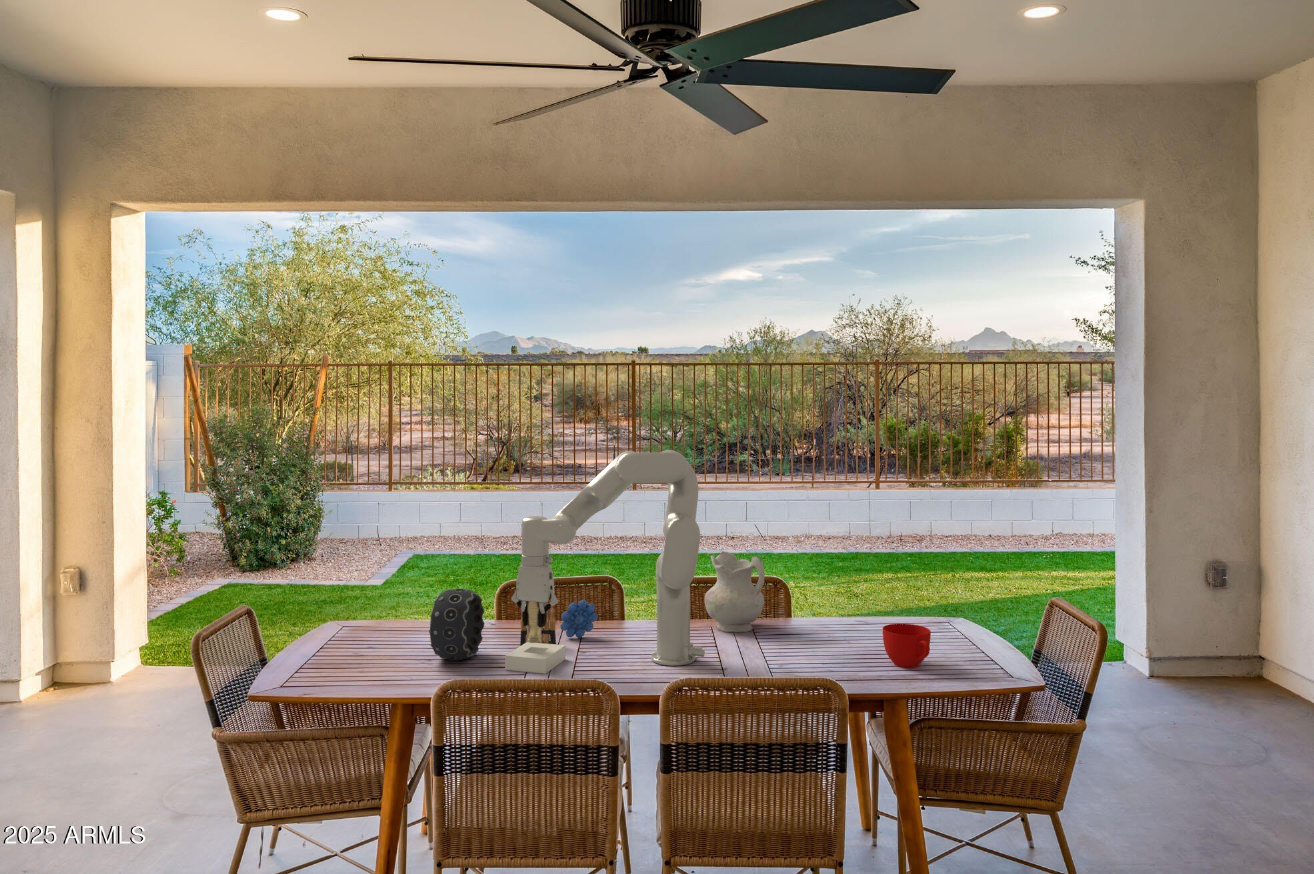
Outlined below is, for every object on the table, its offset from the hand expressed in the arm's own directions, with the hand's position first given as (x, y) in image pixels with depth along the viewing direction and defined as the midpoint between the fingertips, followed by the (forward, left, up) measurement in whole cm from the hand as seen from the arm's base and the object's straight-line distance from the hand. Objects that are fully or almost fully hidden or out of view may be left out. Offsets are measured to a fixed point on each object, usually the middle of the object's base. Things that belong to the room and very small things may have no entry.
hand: (534, 625), depth 240 cm
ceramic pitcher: (-47, -54, -11) cm, 73 cm away
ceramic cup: (-101, -27, -11) cm, 106 cm away
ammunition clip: (+7, -17, -11) cm, 22 cm away
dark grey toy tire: (+24, +1, -11) cm, 26 cm away
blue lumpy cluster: (-1, -30, -11) cm, 32 cm away
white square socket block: (0, 0, -11) cm, 11 cm away
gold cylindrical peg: (0, 0, -4) cm, 4 cm away
